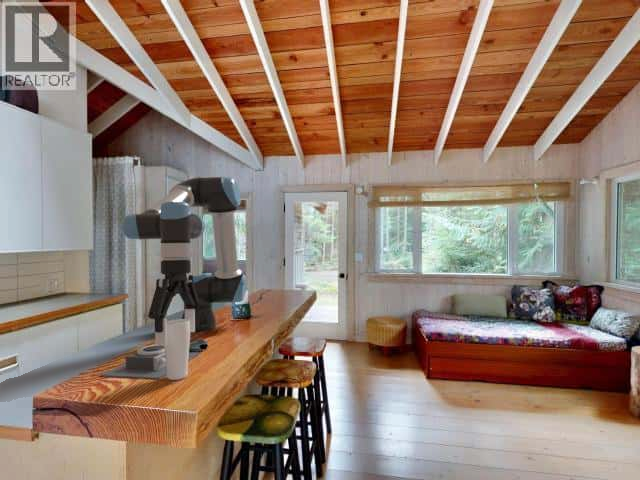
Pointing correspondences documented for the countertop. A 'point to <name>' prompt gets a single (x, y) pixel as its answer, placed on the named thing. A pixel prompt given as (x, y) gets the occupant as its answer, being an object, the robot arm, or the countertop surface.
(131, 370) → the flat gray baseplate
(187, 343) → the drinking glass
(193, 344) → the electronic device
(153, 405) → the countertop surface
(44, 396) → the countertop surface
